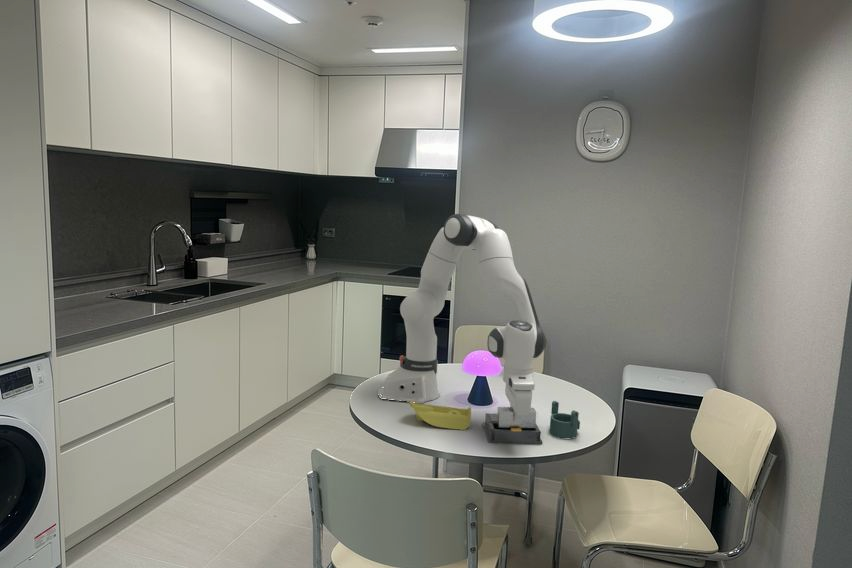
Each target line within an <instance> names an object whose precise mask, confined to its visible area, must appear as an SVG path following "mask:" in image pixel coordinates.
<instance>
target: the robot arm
mask: <svg viewBox="0 0 852 568" xmlns="http://www.w3.org/2000/svg"><path fill="white" fill-rule="evenodd" d="M466 249H467V250H471V251H476V253H477V257H478V266H479V267H478V268H479V275H480V278H481V280H482V283H484V284H485V286H487V287H488V288H490V289H492V290H494V291H496V292H499V293H501V294H504V295H505V296H508V297H510V299H512V300H513V301H514V302H515V304H516V308H517V310H518V313H519V317H520V319H519V320H518V319H517V320H516V319H515V320H511V321H509V322H508V323H507V324H506V325H505V326H498V327H494V328H493V329H492V330H491V331H490V332H489V333H488V336H487V350H488V352H489V353H490V354H491V355H492V356H493V357H495V358H498V359H499V358H500V359H503V360H504V363H503V369H502V371H503V373H502V381H503V382H504V383H505V388H504V391H505V396H506V398H507V401H508V402H509V405H510V406H509V407H512V408H513V410H514V412H515V417H514V423H515V424H520V423H521V417H528V416H529V413H530V408H532V399H533V391H535V381H534V368H535V367H534V360H533V359H536V358H537V359H538V357H539V356H541V355H542V354H543V352H544V350H545V349H546V346H547V338H546V335H545V332H544V330H543V328H542V326H541V324H540V321H539V317H538V315H537V311H536V307H535V304H534V301H533V297H532V294H531V291H530V288H529V285H528V283H527V281H526V280H525V278H523V277H522V276H521V275H520V274H519V272H518V271H517V268H516V266H515V262H514V257H513V251H512V247H511V242H510V240H509V237H508V234H507V233H506V232H505V231H504V230H503V229H501V228H499V227H498V226H497V225H496V223H494V222H493V221H491V220H487V219H484V218H482V217H480V216H475V215H474V216H473V215H468V214H464V213H455V214H451V215H450V216H449V217H448V218H446V220H445V222H444V226H443V227H441V228H440V229H439V231H438V233H437V234H436V236H435V237H434V239H433V241H432V243H431V244H430V248H429V250H428V252H427V254H426V257H425V259H424V262H423V265H422V267H421V270H420V279H419V280H420V281H419V285H418V287H417V289H416V291H415V292H412V293H409V294H408V295H406V297H405V298H404V299H403V300H402V302H401V303H400V307H399V311H400V312H399V313H400V315H401V317H402V319H403V322H404V327H405V334H406V348H405V349H406V350H405V352H406V353H405V355H403V354H402V355H400V356H399V361H400V364H399V367H398V368H395V370H393V371H392V372H390V373H388V375H387V376H386V378H385V380H384V384H383V386H384V388H381V387H380V388H381V389H380V388H379V389H378V391H377V395H378V394H379V396H380V397H381V398H386V399H394V400H401V401H407V402H406V403H410V402H409V400H412V402H415V403H418V404H424V403H426V402H430V401H434V400H436V399H438V398H439V397H440V393H439V389H438V382H437V373H438V365H439V364H438V363H439V361H438V358H437V351H438V349H437V348H438V347H437V346H438V335H437V334H436V332H435V331H436V330H435V325H434V319H435V317H436V316H438V315H439V314H440V313H441V312H442V310H443V308H444V307H445V300H446V297H447V293H448V289H449V286H450V282H451V280H452V278H453V275H454V272H455V270H456V267H457V265H458V263H459V260H460V259H461V258H460V257H461V256H462V253H463V251H464V250H466ZM380 394H381V395H382V396H381V395H380Z"/></svg>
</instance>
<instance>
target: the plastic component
mask: <svg viewBox="0 0 852 568" xmlns="http://www.w3.org/2000/svg"><path fill="white" fill-rule="evenodd" d="M408 403H409V405H410V407H411V408H412V409H413V411H414V412H415V414H416V418H415V419H416V421H421V420H424V422H426V423H427V424H429V425H431V426H433V427H437V428H442V429H444V428H445V429H451V430H458V429H459V430H461V431H465V430H466V429H467V428H469V426H470V424H471V418H472V417H471V416H472V415H471V414H472V407H471V406H469V407H467V408H457V407H450V406H449V407H448V406H439V405H432V404H424V403H413V402H412V400H409V402H408ZM459 430H458V431H459Z"/></svg>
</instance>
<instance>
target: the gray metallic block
mask: <svg viewBox="0 0 852 568" xmlns="http://www.w3.org/2000/svg"><path fill="white" fill-rule="evenodd" d="M496 412H497V413H496V414H497V424H498V427H505V428H535V426H536V424H537V423H536V422H537V421H536V420H537V411H536V409H535V407H531V408H530V413H529V416H528V417H521V423H520V424H515V423H514V417H515V412H514V410H513V408H512V407H510V406H497V411H496Z"/></svg>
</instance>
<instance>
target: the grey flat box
mask: <svg viewBox="0 0 852 568" xmlns="http://www.w3.org/2000/svg"><path fill="white" fill-rule="evenodd" d="M484 420H485V421H484V422H482V426H483V427H482V428H483V429H484V433H485V435H486V439H487V442H488V444H489V443H490V444H512V445H514V444H517V445H519V444H520V445H521V444H522V445H543V440H542V438H541V436H542V435H541V434H542V431H541V430H540V429H539V427H538V425H537V423H536V426H535V428H505V427H498V424H497V413H489V412H488V413H485V419H484Z"/></svg>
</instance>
